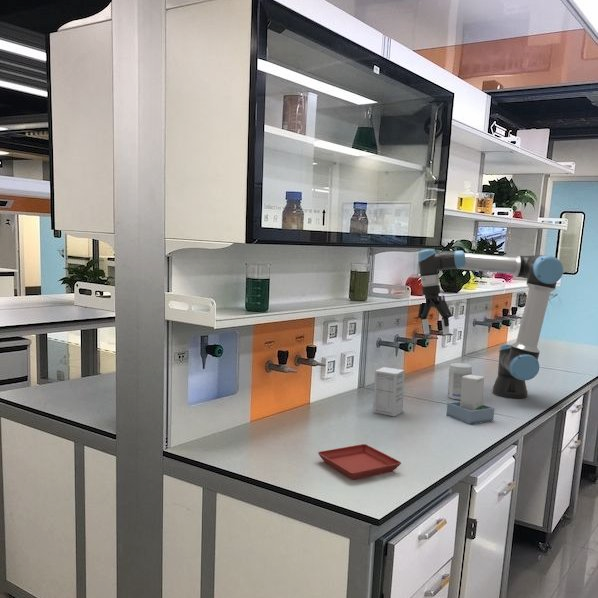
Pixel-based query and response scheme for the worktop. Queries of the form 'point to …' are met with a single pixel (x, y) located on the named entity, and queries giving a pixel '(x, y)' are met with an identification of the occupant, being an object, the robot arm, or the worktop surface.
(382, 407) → the supplement box
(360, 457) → the plant saucer
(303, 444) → the worktop surface
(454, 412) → the crate
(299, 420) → the worktop surface
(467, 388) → the skincare box
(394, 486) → the worktop surface
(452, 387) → the supplement tub
